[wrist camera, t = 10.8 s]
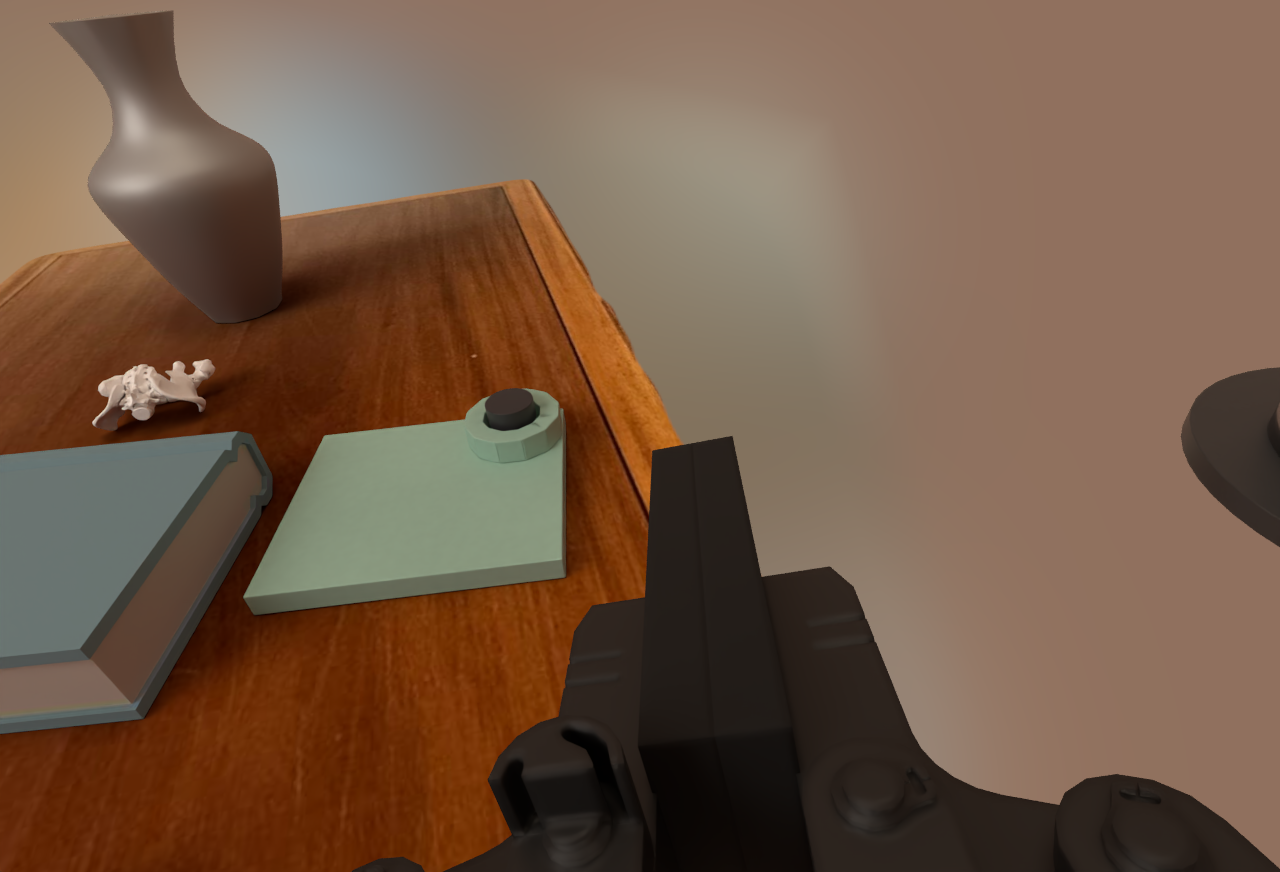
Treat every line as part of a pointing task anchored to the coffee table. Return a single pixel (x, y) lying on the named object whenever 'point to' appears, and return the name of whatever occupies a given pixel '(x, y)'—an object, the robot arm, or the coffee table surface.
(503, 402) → the button
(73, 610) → the book
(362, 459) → the scale
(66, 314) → the coffee table surface
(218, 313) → the vase
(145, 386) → the pelvis model
